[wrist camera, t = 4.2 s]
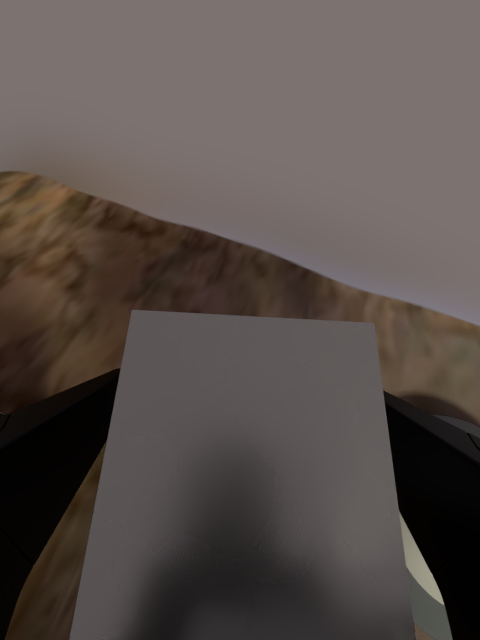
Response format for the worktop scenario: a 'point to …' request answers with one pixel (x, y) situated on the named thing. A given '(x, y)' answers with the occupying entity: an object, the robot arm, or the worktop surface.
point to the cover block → (246, 487)
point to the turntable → (428, 572)
